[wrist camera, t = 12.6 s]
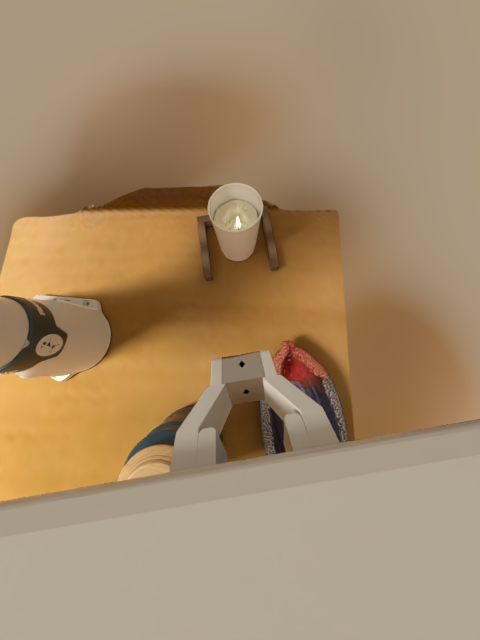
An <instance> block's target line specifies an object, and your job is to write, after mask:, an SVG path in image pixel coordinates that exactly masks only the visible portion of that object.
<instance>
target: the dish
mask: <svg viewBox="0 0 480 640" xmlns="http://www.w3.org/2000/svg"><path fill="white" fill-rule="evenodd" d="M281 345H282V348H281V349H280V350H279V351H278V352H277V353H276V355H275V356H274V357H273V359H272V360H273V363H274V366H275V369H276V372H277V375H280V374H281V375H282V376H283V377H284V378H286V379H287V380H288V381H289V382H291V383H292V384H293V385H295V386H296V387H297V388H298V389H300V390H301V391H302V392H303V393H305V394H306V395H307V396H309V397H310V398H311V399H312V400H314V401H315V402H316V403H317V404H319V405H320V406H321V407H322V408H323V410H324V412H325V414H326V416H327V418H328V420H329V422H330V424H331V426H332V428H333V430H334V432H335V434H336V436H337V438H338V440H339V442H340V443H343V442H348V438H347V430H346V424H345V419H344V414H343V410H342V406H341V403H340V400H339V397H338V393H337V391H336V388H335V386H334V384H333V382H332V380H331V378H330V376H329V374H328V373H327V371H326V370H325V369H324V367H323V366H322V365H321V364H320V363H319V362H318V361H317V360H316V359H314V358H313V357H312V356H311V355H310V354H309V353H308V352H307V351H305V350H304V349H301V348H299V347H297V346H295V342H293V341H284V342H282V343H281ZM260 418H261V428H262V435H263V442H264V447H265V451H266V456H267V455H273V454H279V453H284V452H286V450H285V446H284V421H283V420H282V419H281V418H280V417H279V416H278V415H277V413H276V412H275V411H274V410H273V409H272V408H271V407H270V405H269V404H268V403H267V402H266V401H265V400H260Z"/></svg>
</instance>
